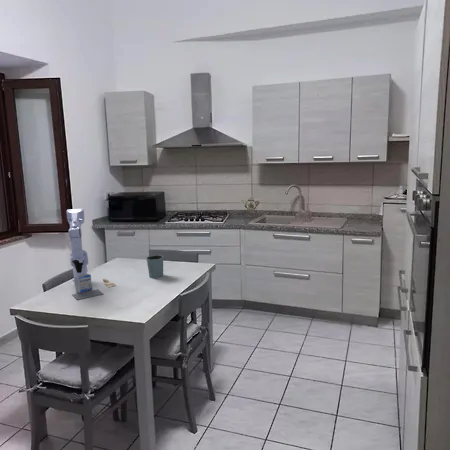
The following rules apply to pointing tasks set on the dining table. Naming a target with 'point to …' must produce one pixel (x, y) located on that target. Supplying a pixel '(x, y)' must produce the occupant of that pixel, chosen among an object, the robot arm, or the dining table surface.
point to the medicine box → (83, 283)
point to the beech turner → (108, 283)
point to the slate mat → (87, 294)
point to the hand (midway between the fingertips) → (79, 272)
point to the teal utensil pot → (155, 266)
